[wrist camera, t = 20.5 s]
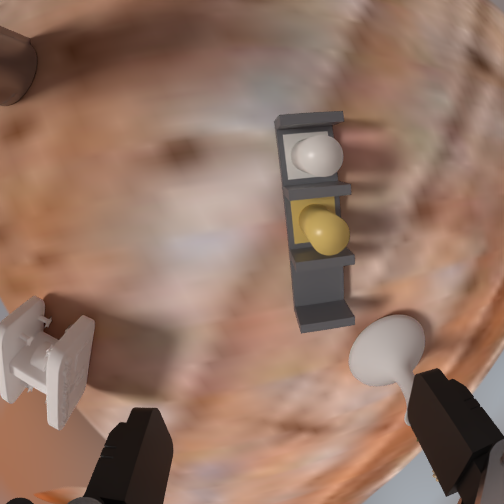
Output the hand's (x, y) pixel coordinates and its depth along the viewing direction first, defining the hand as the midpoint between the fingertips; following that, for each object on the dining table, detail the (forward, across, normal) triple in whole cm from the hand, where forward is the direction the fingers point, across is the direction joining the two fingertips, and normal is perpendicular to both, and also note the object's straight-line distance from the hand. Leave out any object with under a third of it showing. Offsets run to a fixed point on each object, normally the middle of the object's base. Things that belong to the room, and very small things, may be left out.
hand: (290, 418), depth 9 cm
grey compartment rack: (+28, -6, 0) cm, 29 cm away
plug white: (+27, -6, -7) cm, 28 cm away
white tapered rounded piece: (+28, -16, +19) cm, 38 cm away
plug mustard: (+27, -6, 0) cm, 28 cm away
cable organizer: (+28, +30, +13) cm, 43 cm away
